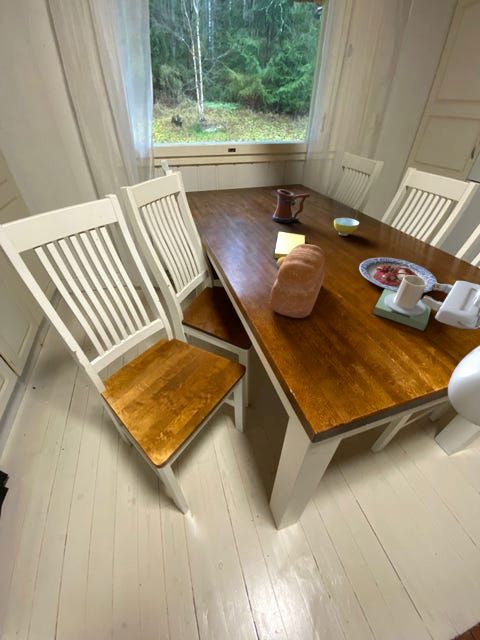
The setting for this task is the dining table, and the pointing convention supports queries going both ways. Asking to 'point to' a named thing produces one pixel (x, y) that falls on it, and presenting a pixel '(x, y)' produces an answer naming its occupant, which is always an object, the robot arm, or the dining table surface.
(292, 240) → the pale yellow flat slab
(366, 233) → the dining table surface
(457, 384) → the robot arm
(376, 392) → the dining table surface
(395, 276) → the ceramic plate
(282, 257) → the bread roll
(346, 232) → the bowl
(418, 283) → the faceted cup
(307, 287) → the bread
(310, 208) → the dining table surface
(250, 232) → the dining table surface
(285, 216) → the mug
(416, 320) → the scale
